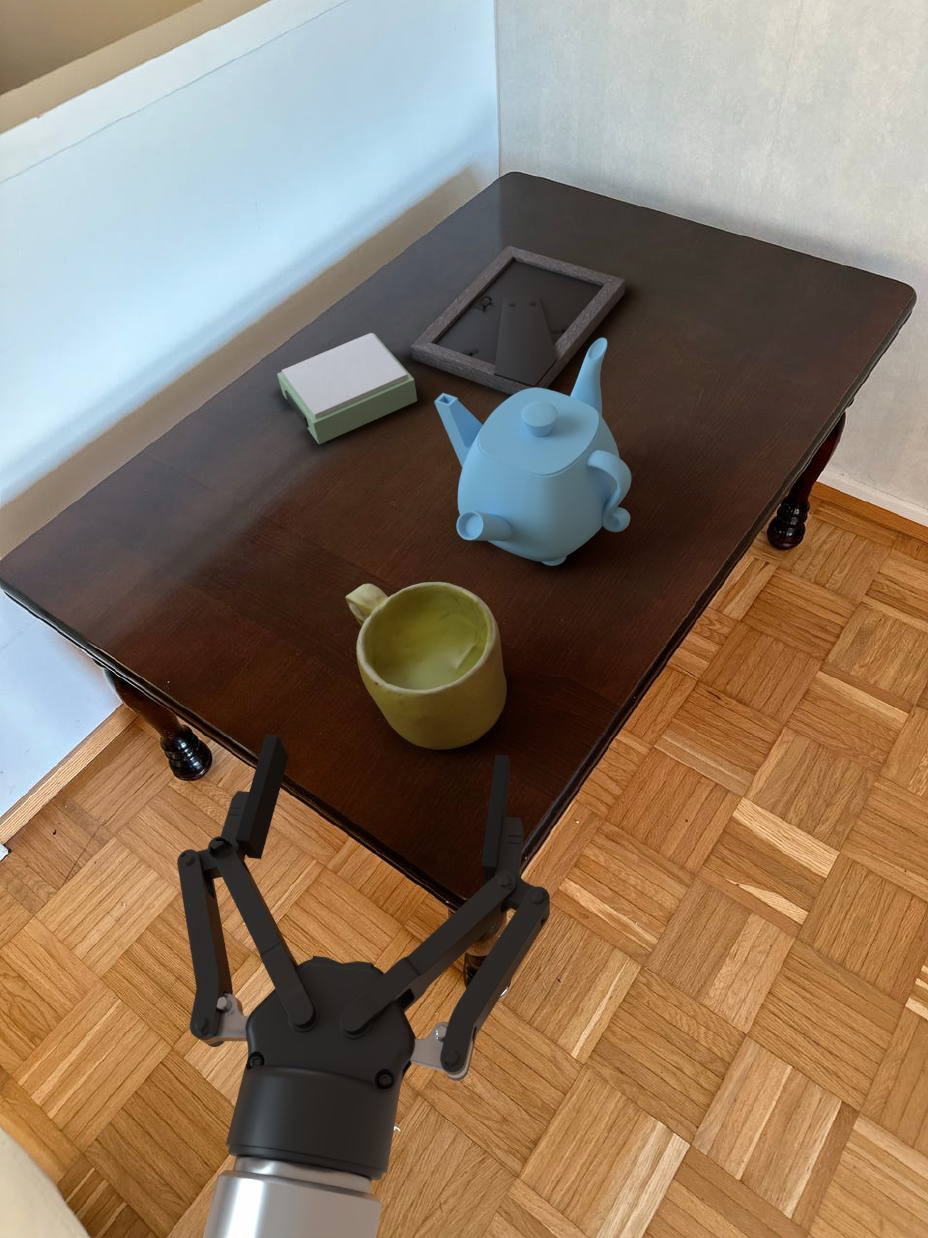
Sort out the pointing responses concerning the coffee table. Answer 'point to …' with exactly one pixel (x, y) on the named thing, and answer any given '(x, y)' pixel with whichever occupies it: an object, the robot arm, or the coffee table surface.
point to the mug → (431, 661)
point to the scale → (347, 387)
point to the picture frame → (519, 321)
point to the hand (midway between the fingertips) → (388, 755)
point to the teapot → (539, 468)
